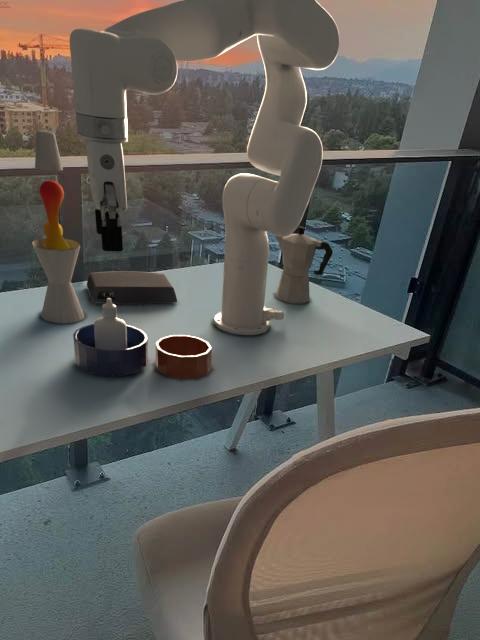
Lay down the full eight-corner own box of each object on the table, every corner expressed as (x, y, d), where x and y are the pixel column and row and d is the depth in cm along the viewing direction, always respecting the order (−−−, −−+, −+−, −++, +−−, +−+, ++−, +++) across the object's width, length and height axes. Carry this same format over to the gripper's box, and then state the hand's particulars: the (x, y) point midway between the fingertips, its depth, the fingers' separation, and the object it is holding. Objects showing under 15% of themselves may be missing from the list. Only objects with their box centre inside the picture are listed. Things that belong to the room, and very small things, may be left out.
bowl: (142, 348, 124) (141, 322, 121) (152, 377, 115) (152, 350, 112) (73, 350, 120) (71, 323, 117) (78, 380, 110) (75, 351, 107)
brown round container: (203, 355, 126) (204, 334, 123) (215, 378, 118) (216, 356, 116) (152, 356, 122) (152, 335, 120) (161, 380, 114) (161, 357, 112)
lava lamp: (90, 321, 132) (78, 137, 112) (46, 325, 127) (25, 133, 108) (78, 306, 138) (64, 129, 118) (35, 309, 133) (13, 125, 114)
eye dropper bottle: (106, 353, 119) (102, 291, 112) (131, 360, 118) (129, 299, 111) (92, 360, 116) (87, 297, 109) (118, 368, 115) (115, 305, 108)
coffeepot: (263, 296, 160) (269, 224, 150) (275, 287, 168) (282, 218, 158) (319, 310, 158) (329, 237, 147) (329, 300, 165) (340, 230, 155)
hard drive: (86, 286, 149) (85, 269, 147) (166, 286, 157) (166, 270, 154) (92, 305, 140) (91, 287, 137) (178, 305, 147) (178, 288, 145)
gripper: (135, 139, 91) (139, 258, 100) (120, 122, 103) (125, 228, 113) (80, 135, 88) (90, 257, 98) (72, 117, 101) (82, 227, 110)
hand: (109, 242), depth 105 cm, fingers open, 9 cm apart
